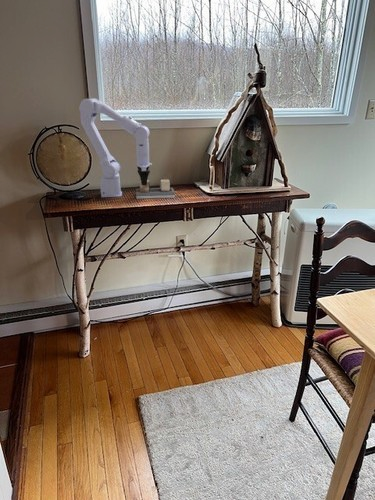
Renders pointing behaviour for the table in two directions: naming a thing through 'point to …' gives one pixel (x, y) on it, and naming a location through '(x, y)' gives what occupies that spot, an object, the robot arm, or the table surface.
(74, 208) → the table surface
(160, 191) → the rail
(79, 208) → the table surface
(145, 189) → the finger
